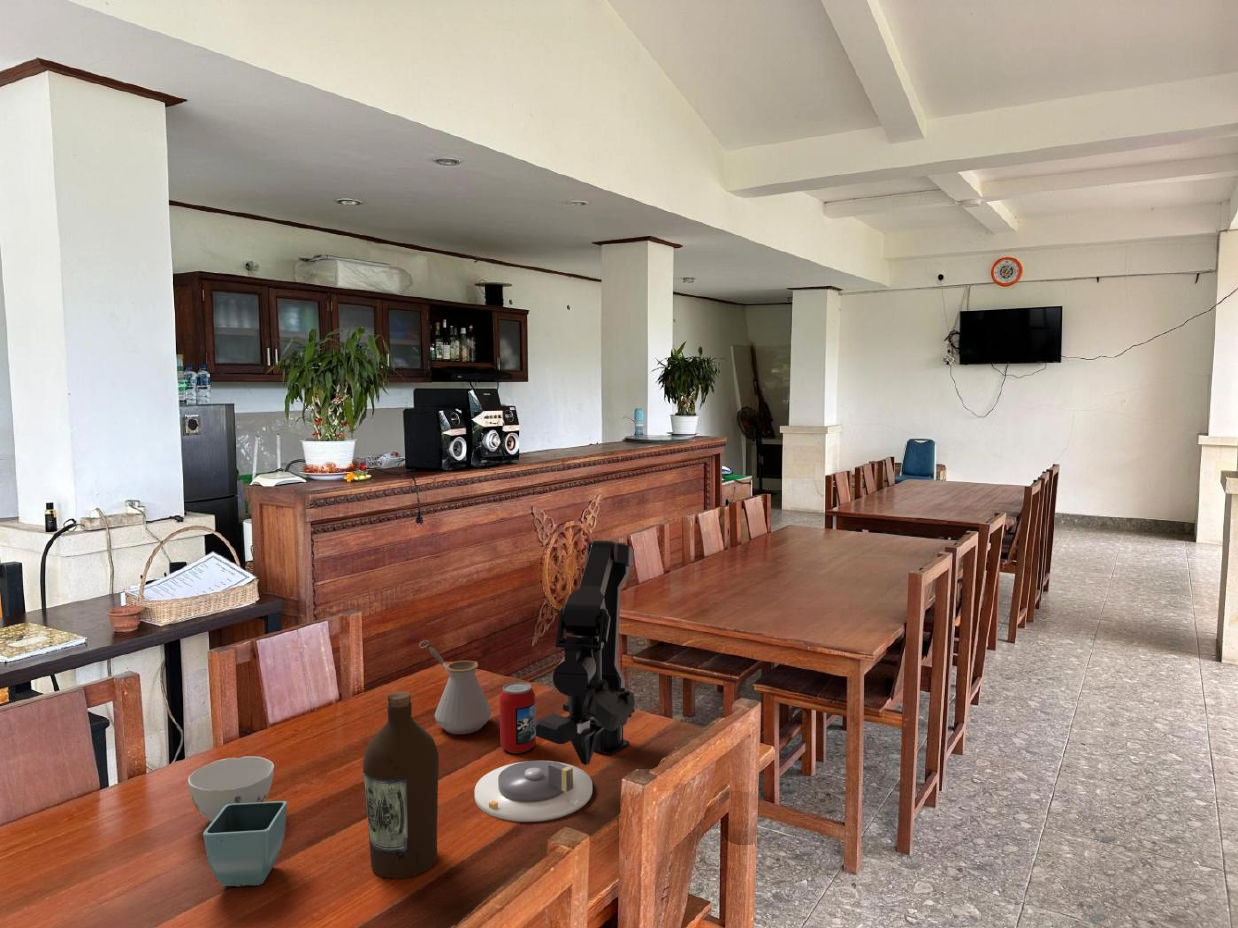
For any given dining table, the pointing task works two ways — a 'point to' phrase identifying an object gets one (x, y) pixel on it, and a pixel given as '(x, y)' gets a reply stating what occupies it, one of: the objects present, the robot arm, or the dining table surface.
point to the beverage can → (517, 717)
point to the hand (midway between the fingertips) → (585, 763)
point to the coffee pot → (461, 697)
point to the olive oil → (401, 794)
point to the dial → (535, 780)
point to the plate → (531, 811)
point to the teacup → (230, 783)
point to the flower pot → (245, 841)
